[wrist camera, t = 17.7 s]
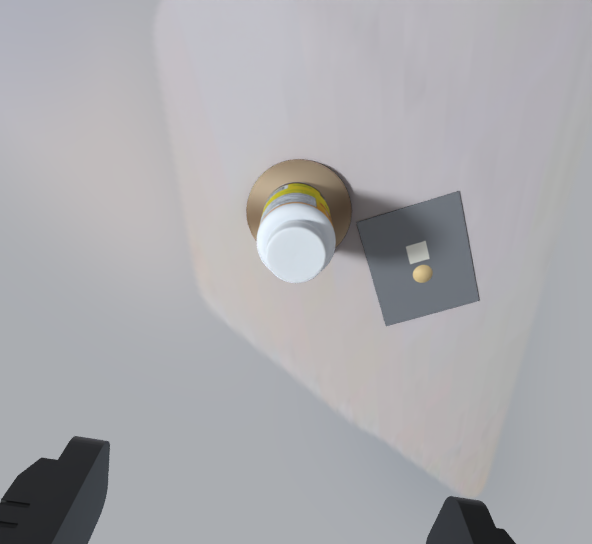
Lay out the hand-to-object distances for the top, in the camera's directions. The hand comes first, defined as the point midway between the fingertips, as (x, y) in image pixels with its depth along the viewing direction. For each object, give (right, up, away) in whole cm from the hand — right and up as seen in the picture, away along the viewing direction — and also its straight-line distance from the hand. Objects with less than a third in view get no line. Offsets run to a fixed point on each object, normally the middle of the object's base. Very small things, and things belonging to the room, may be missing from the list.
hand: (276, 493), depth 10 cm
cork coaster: (+1, +10, +28) cm, 30 cm away
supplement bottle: (0, +10, +28) cm, 30 cm away
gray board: (+12, +6, +30) cm, 33 cm away
